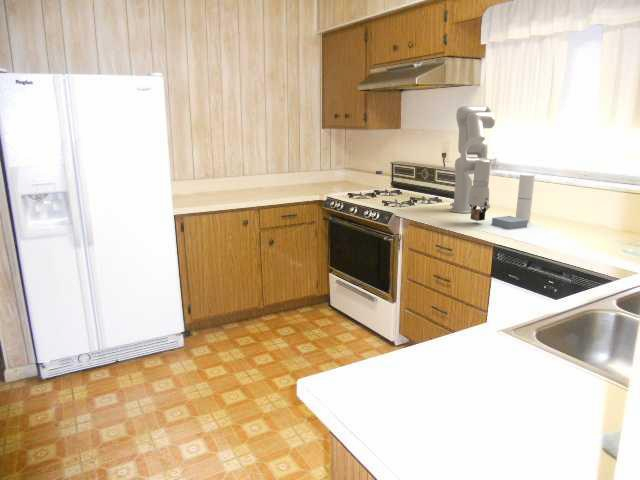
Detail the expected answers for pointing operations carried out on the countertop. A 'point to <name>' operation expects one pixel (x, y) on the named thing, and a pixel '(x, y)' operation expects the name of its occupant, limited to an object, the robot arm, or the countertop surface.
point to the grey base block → (509, 222)
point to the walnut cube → (475, 214)
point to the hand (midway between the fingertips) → (477, 218)
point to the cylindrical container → (525, 196)
